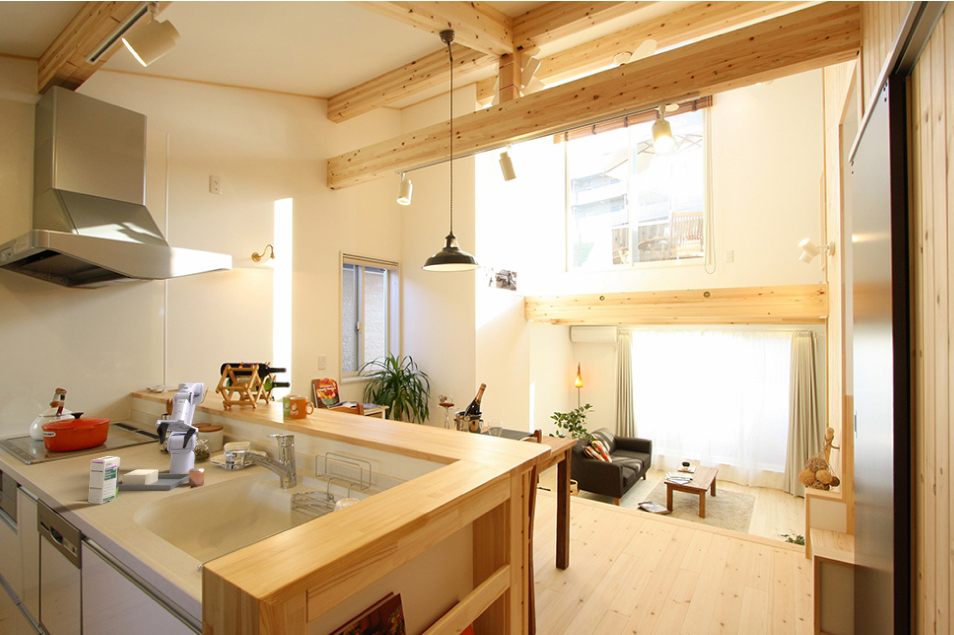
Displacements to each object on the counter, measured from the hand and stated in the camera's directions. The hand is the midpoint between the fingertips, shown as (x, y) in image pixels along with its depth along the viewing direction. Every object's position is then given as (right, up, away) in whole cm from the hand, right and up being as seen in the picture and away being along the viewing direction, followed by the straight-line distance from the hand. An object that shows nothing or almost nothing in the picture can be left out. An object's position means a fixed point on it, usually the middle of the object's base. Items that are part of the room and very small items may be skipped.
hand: (173, 444), depth 176 cm
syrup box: (-13, -15, -17) cm, 26 cm away
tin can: (+7, -16, +3) cm, 18 cm away
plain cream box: (-13, -15, +1) cm, 20 cm away
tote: (-8, -16, +1) cm, 18 cm away
